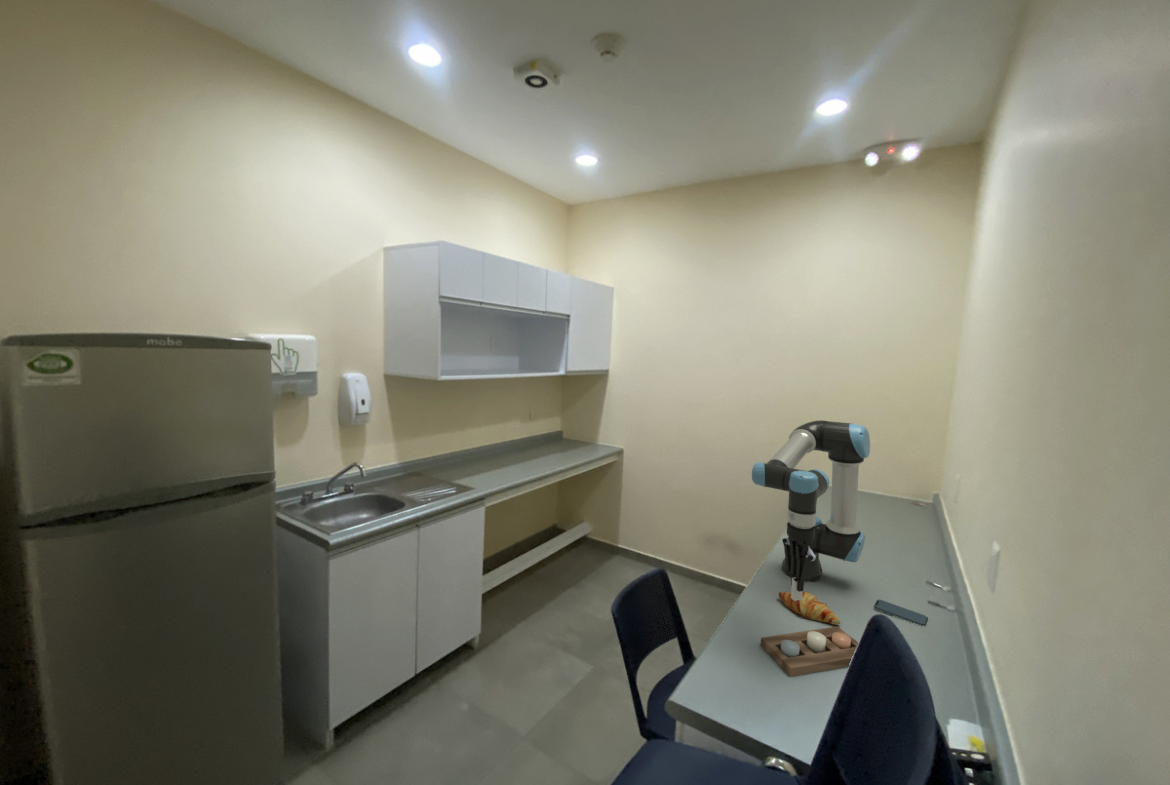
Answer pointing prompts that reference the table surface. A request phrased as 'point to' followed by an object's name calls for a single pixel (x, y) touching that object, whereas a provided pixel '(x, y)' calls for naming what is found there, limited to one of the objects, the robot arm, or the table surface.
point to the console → (809, 652)
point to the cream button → (816, 641)
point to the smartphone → (900, 612)
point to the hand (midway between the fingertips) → (796, 598)
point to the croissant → (810, 607)
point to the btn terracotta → (841, 640)
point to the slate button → (790, 648)
